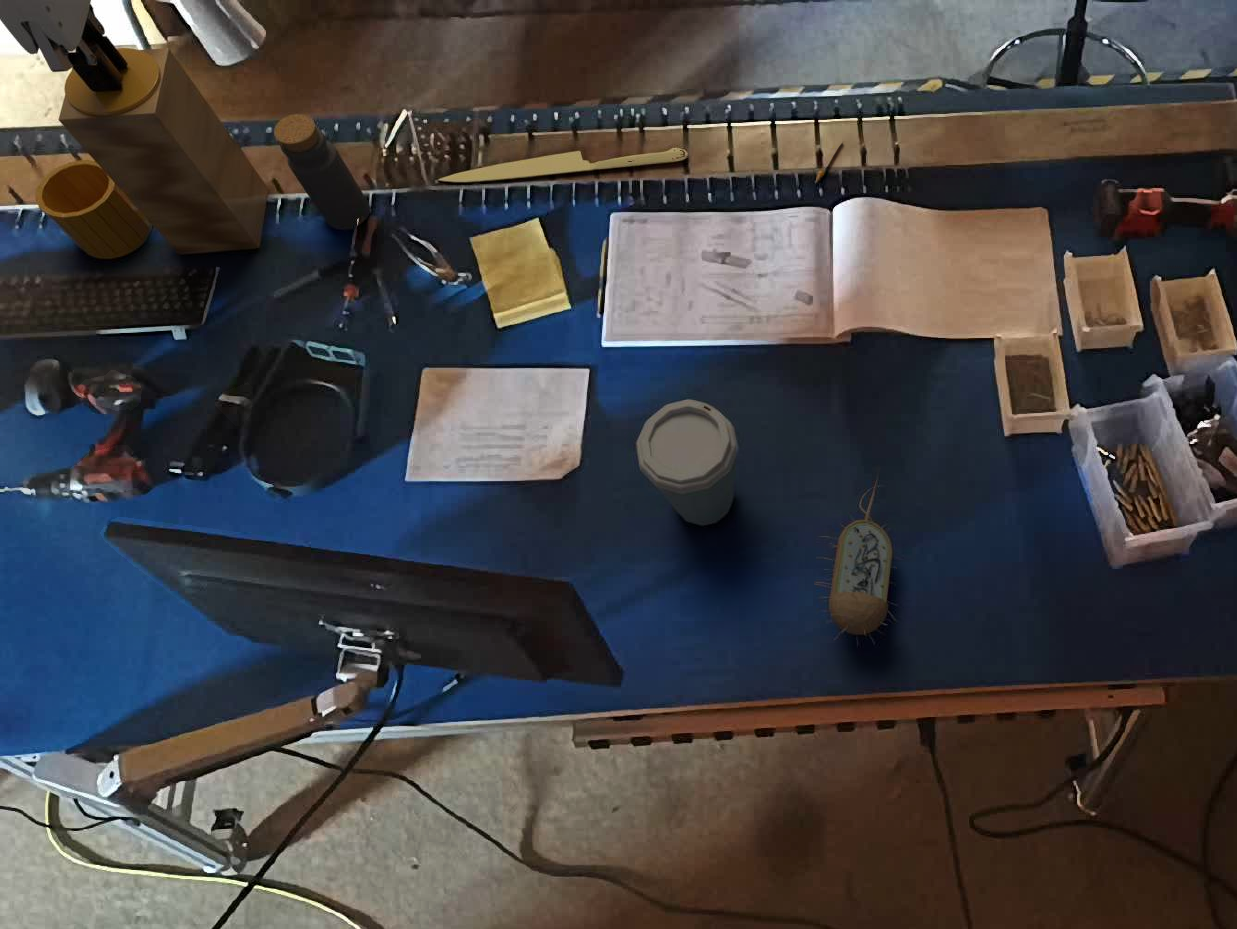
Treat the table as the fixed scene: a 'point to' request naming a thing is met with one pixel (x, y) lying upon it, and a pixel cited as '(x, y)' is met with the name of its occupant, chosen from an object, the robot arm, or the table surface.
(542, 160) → the knife
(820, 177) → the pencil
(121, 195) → the wooden cup
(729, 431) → the disposable coffee cup
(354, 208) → the bottle
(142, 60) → the lid
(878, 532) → the bacterium
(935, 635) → the table surface
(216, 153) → the stand
